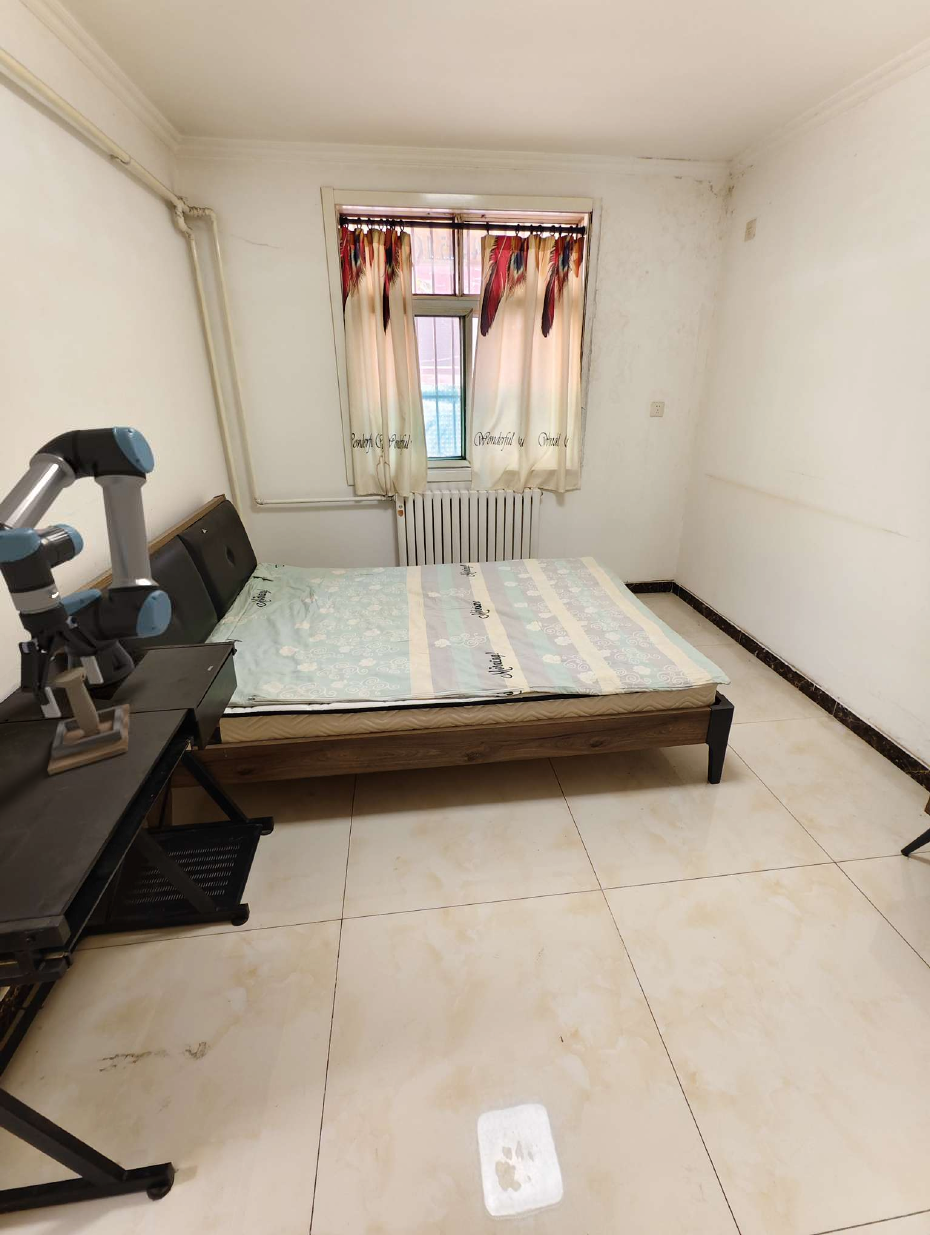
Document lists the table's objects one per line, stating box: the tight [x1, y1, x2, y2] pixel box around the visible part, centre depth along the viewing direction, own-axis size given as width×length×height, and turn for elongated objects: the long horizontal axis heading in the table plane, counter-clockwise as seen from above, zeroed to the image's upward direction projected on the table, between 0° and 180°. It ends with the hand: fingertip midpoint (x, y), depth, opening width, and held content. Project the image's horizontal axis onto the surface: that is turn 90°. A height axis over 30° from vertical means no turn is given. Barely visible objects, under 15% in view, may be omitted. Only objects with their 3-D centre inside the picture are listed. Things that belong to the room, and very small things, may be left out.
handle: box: [54, 667, 101, 737], centre depth 120 cm, size 5×6×15 cm
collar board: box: [47, 703, 131, 776], centre depth 123 cm, size 20×14×3 cm
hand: (76, 698), depth 119 cm, fingers open, 13 cm apart
